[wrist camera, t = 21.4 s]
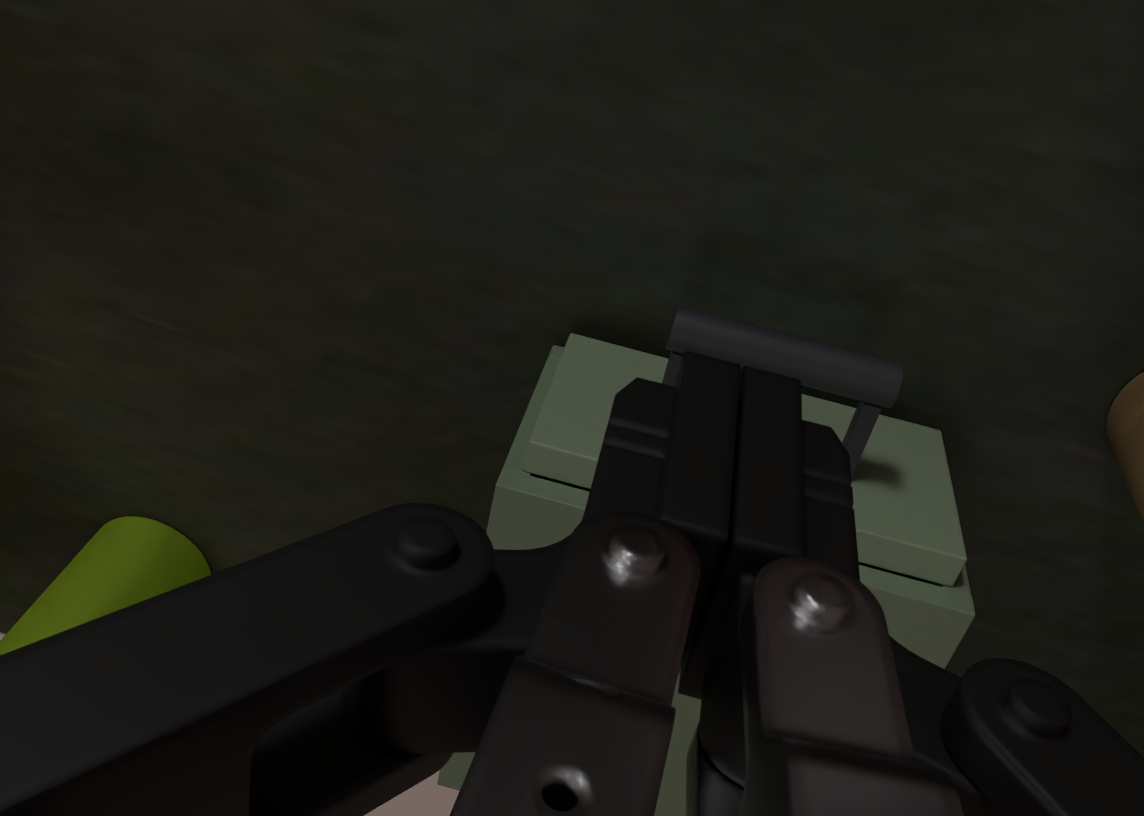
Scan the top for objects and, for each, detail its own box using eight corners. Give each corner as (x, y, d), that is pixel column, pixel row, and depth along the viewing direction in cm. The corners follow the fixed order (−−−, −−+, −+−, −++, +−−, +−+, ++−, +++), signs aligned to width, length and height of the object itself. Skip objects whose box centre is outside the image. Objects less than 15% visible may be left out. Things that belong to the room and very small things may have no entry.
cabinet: (553, 343, 40) (495, 484, 32) (942, 446, 39) (976, 615, 31) (493, 620, 48) (437, 784, 40) (814, 709, 47) (816, 893, 40)
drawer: (594, 223, 36) (553, 319, 30) (991, 326, 35) (1030, 445, 29) (510, 600, 46) (467, 729, 40) (818, 685, 45) (821, 829, 39)
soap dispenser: (251, 576, 49) (-31, 1006, 32) (161, 628, 52) (-140, 1045, 35) (159, 487, 47) (-193, 895, 30) (71, 546, 50) (-292, 946, 34)
